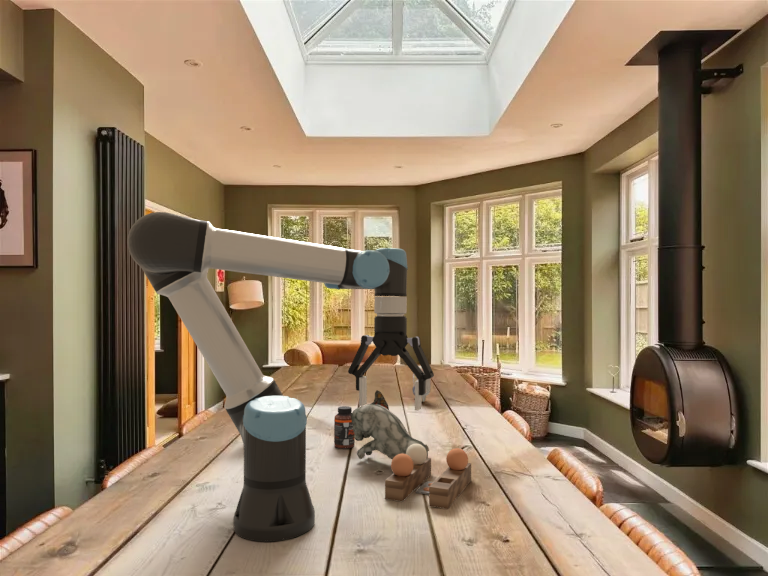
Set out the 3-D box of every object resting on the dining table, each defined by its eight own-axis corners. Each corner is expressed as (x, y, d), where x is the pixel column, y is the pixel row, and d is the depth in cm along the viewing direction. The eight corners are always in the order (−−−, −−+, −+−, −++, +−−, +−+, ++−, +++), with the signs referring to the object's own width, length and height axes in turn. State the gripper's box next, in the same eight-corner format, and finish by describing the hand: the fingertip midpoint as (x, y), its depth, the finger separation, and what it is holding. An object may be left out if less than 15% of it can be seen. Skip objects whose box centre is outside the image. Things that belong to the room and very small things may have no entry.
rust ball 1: (408, 481, 117) (408, 458, 117) (387, 478, 119) (387, 455, 119) (416, 474, 122) (416, 452, 122) (396, 471, 124) (396, 449, 124)
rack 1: (402, 501, 115) (402, 482, 115) (385, 498, 117) (385, 480, 117) (431, 474, 133) (431, 458, 133) (415, 472, 134) (415, 456, 134)
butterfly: (399, 426, 182) (399, 396, 182) (370, 426, 181) (370, 396, 181) (394, 417, 194) (394, 389, 194) (367, 418, 193) (367, 390, 193)
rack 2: (447, 509, 111) (447, 489, 111) (429, 506, 113) (429, 486, 113) (471, 480, 128) (471, 463, 129) (454, 477, 130) (454, 461, 130)
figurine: (349, 479, 138) (414, 468, 128) (343, 406, 145) (405, 390, 135) (372, 478, 145) (436, 468, 135) (366, 409, 152) (426, 394, 142)
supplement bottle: (351, 449, 154) (351, 409, 154) (331, 448, 155) (331, 408, 155) (357, 444, 160) (357, 405, 160) (337, 443, 161) (337, 404, 161)
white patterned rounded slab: (408, 397, 233) (408, 362, 234) (420, 396, 234) (420, 362, 235) (421, 407, 213) (421, 368, 213) (435, 406, 214) (435, 368, 214)
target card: (434, 495, 119) (434, 493, 119) (415, 492, 120) (415, 490, 120) (444, 485, 125) (444, 483, 125) (426, 482, 127) (426, 480, 127)
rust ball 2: (465, 475, 121) (464, 452, 122) (443, 472, 123) (443, 450, 124) (470, 468, 126) (470, 447, 126) (449, 465, 128) (449, 444, 128)
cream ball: (422, 469, 125) (422, 447, 126) (402, 466, 127) (402, 445, 128) (429, 463, 130) (429, 442, 130) (410, 460, 132) (410, 440, 132)
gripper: (447, 315, 125) (446, 408, 125) (348, 313, 134) (347, 400, 133) (438, 316, 118) (438, 414, 118) (334, 314, 127) (334, 405, 126)
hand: (389, 407), depth 126 cm, fingers open, 13 cm apart
